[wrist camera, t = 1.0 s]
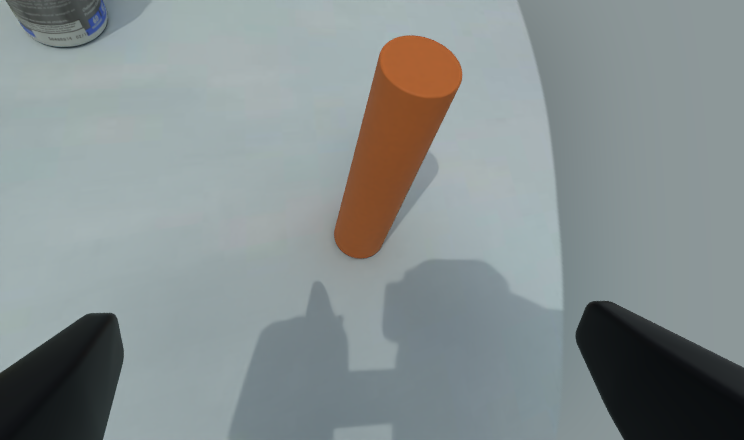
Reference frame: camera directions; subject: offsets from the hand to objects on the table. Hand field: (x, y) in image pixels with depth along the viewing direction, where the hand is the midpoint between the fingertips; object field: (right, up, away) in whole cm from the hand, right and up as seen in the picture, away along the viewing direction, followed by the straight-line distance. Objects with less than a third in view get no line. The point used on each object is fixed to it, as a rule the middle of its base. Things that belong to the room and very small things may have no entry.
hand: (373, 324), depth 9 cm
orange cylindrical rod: (-1, +1, +17) cm, 17 cm away
